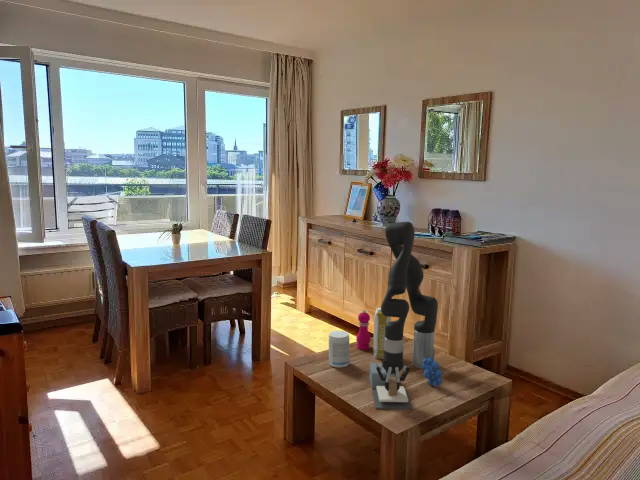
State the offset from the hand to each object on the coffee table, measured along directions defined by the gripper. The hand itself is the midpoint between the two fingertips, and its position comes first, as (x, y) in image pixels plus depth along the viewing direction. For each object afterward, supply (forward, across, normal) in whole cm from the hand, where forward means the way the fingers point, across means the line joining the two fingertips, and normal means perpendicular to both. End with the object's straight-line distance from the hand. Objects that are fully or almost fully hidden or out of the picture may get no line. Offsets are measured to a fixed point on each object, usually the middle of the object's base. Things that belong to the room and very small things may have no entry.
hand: (391, 389), depth 185 cm
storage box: (+4, +2, -14) cm, 15 cm away
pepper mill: (+5, +7, -53) cm, 54 cm away
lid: (+2, 0, 0) cm, 2 cm away
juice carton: (+5, -1, -43) cm, 43 cm away
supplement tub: (+5, +20, -33) cm, 39 cm away
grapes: (+5, -18, -13) cm, 23 cm away
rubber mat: (+4, 0, 0) cm, 4 cm away
